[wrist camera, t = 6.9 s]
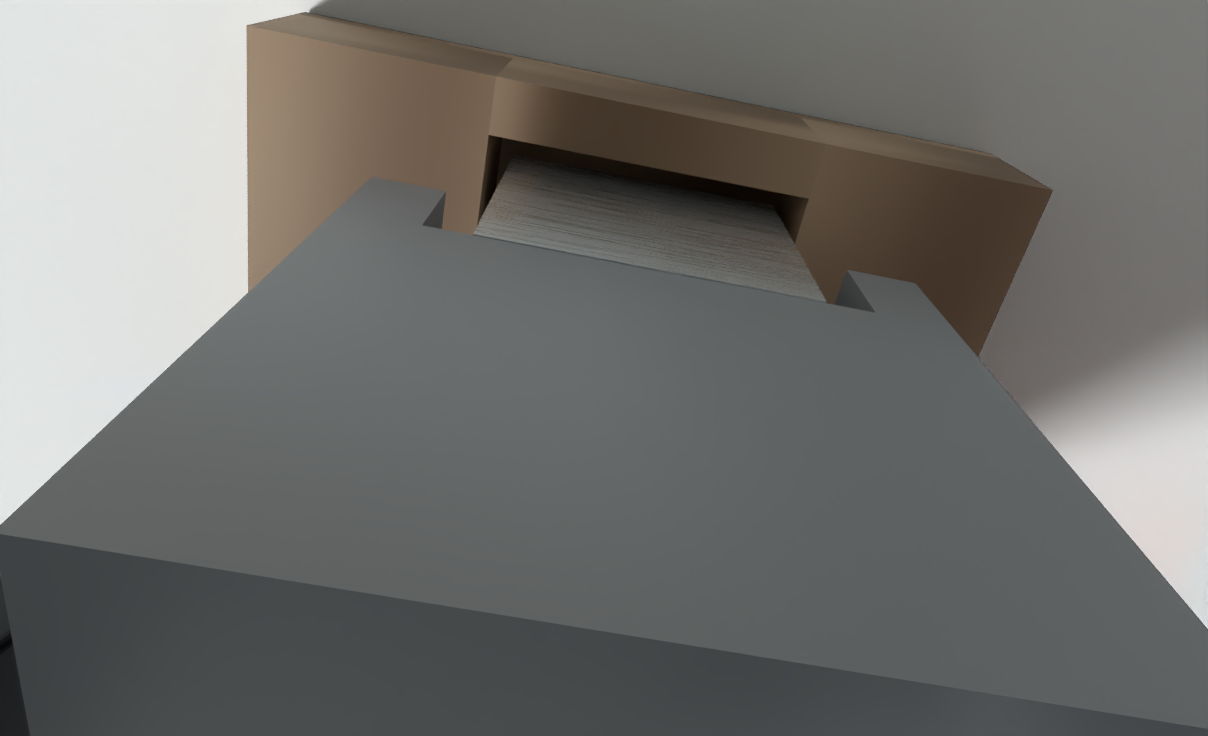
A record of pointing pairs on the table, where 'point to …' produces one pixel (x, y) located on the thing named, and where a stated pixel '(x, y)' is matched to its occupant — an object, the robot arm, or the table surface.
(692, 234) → the rail
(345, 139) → the rail base
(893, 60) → the table surface
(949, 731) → the block
